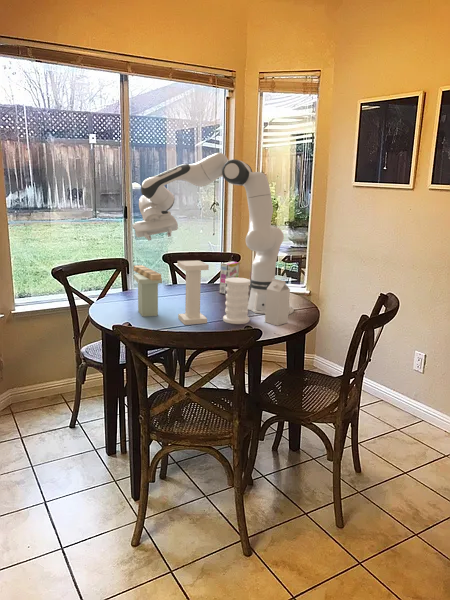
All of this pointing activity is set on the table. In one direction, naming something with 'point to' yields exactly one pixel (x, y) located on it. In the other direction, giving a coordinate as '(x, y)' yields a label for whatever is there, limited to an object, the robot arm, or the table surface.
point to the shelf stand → (192, 292)
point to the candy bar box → (227, 274)
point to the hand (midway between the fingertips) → (159, 237)
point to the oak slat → (147, 272)
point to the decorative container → (237, 300)
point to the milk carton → (277, 302)
